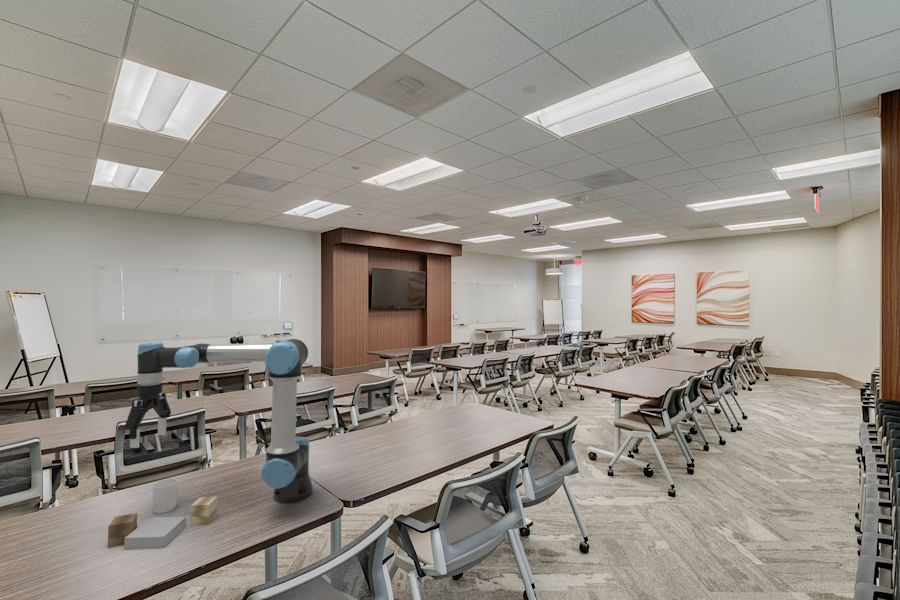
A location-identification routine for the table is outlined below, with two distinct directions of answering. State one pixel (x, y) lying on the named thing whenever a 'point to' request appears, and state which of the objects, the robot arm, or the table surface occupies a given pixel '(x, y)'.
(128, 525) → the walnut block
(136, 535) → the grey block
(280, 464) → the robot arm
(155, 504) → the white cup
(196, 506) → the maple block
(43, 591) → the table surface
